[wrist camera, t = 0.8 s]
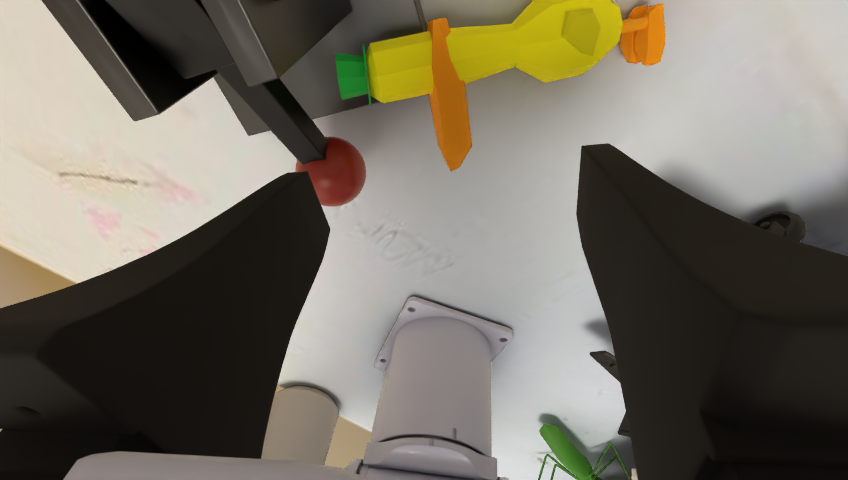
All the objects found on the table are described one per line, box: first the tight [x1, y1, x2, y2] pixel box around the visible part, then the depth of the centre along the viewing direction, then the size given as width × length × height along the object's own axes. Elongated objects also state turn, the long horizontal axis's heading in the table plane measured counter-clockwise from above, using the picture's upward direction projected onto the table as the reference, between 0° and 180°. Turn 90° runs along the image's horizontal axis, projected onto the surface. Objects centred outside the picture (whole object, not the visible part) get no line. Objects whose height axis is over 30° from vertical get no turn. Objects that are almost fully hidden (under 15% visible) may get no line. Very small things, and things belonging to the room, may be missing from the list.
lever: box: [105, 0, 366, 206], centre depth 15 cm, size 11×3×3 cm, turn 17°
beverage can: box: [261, 386, 339, 465], centre depth 36 cm, size 6×6×12 cm
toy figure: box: [335, 0, 665, 172], centre depth 16 cm, size 7×4×12 cm
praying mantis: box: [538, 424, 631, 480], centre depth 39 cm, size 9×15×5 cm, turn 37°
